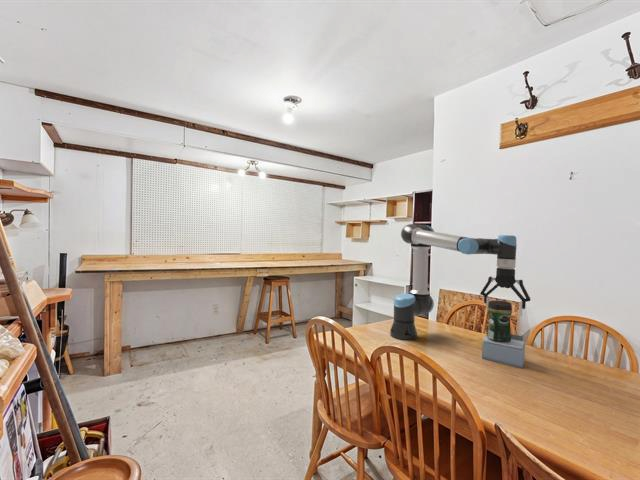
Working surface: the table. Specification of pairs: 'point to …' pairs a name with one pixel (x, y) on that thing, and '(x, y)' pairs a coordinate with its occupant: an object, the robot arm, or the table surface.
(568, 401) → the table surface
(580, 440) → the table surface
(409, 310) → the robot arm
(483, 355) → the box
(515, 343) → the lid
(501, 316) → the coffee jar
